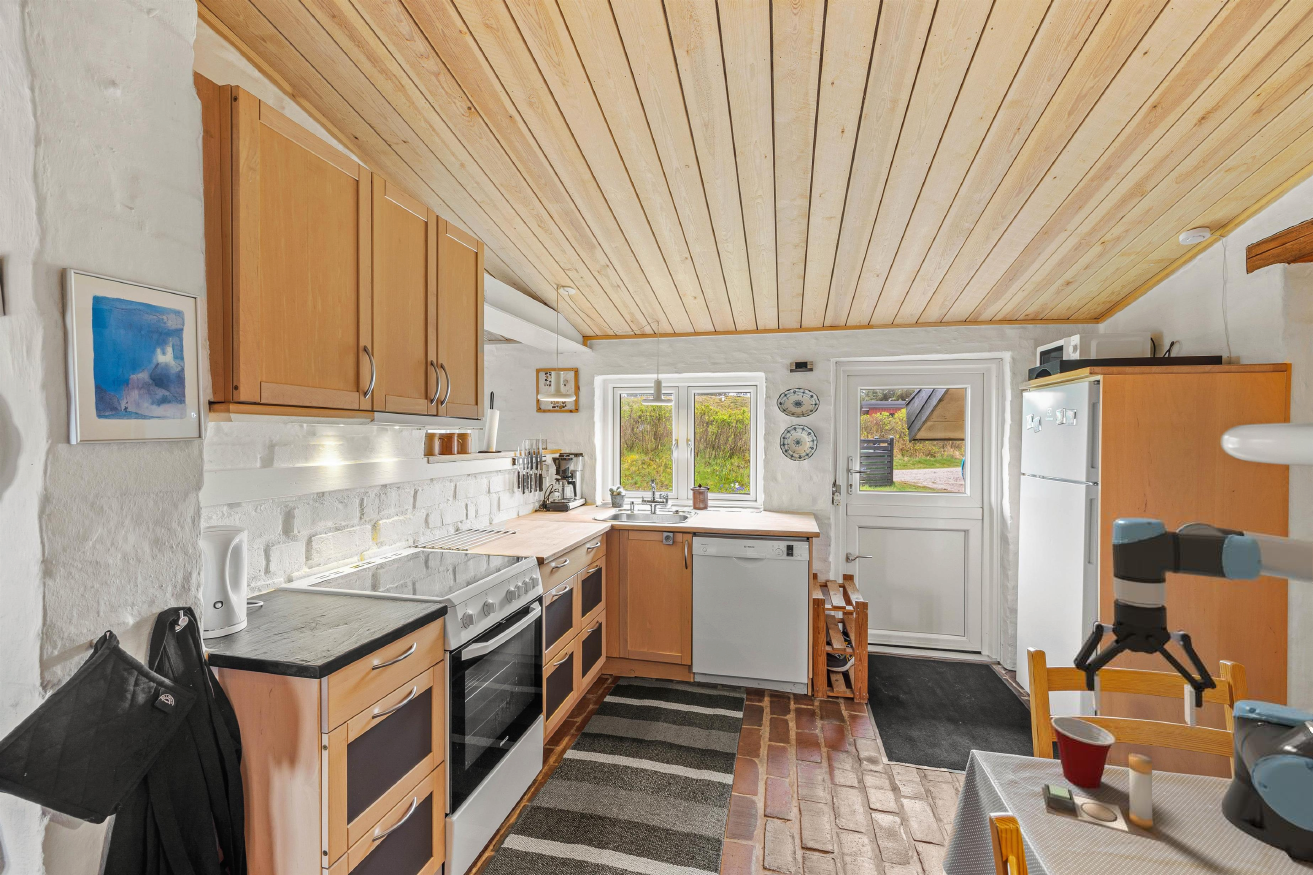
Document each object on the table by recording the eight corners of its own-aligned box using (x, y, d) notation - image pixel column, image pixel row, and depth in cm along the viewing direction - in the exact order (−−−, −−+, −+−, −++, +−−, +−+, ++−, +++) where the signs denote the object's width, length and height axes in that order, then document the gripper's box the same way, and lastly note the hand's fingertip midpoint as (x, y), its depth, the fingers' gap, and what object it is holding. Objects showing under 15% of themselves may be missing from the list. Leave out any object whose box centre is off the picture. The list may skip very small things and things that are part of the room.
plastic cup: (1128, 803, 113) (1127, 743, 113) (1067, 797, 115) (1066, 738, 115) (1097, 772, 124) (1097, 717, 124) (1042, 766, 126) (1041, 712, 126)
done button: (1067, 798, 112) (1067, 788, 112) (1069, 807, 110) (1069, 797, 110) (1049, 794, 114) (1049, 784, 114) (1051, 803, 111) (1051, 792, 111)
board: (1147, 817, 109) (1147, 801, 109) (1162, 847, 101) (1162, 830, 101) (1041, 791, 117) (1041, 777, 117) (1047, 817, 109) (1047, 801, 109)
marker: (1149, 820, 107) (1149, 756, 107) (1154, 830, 104) (1154, 765, 104) (1127, 814, 108) (1126, 751, 108) (1131, 825, 105) (1131, 760, 105)
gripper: (1221, 604, 103) (1224, 721, 103) (1055, 589, 115) (1057, 694, 115) (1239, 615, 97) (1242, 740, 97) (1061, 598, 109) (1063, 709, 108)
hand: (1141, 715), depth 106 cm, fingers open, 13 cm apart
